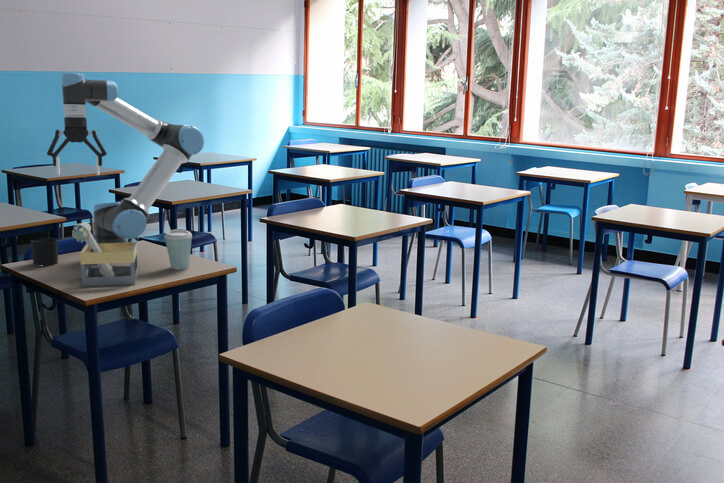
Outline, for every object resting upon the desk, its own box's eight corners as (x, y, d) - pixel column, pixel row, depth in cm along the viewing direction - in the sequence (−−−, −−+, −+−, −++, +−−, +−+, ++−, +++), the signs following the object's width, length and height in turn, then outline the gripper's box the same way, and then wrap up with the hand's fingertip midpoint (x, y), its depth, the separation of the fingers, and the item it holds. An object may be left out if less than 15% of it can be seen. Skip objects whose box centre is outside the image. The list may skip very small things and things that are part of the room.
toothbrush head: (118, 273, 244) (90, 216, 230) (110, 284, 238) (81, 227, 224) (106, 273, 245) (77, 217, 231) (97, 285, 240) (67, 228, 226)
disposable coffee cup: (199, 268, 263) (198, 231, 260) (178, 273, 254) (176, 234, 251) (180, 264, 269) (179, 228, 266) (159, 269, 260) (158, 231, 257)
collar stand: (88, 275, 249) (86, 243, 247) (137, 273, 253) (136, 242, 251) (82, 286, 232) (80, 253, 230) (135, 284, 237) (133, 251, 235)
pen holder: (59, 266, 262) (57, 241, 260) (32, 268, 258) (31, 242, 256) (58, 261, 271) (56, 237, 269) (32, 263, 266) (30, 238, 264)
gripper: (35, 116, 237) (39, 175, 241) (110, 117, 243) (113, 175, 247) (39, 115, 244) (43, 174, 248) (112, 117, 250) (115, 173, 254)
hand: (78, 175), depth 247 cm, fingers open, 13 cm apart
